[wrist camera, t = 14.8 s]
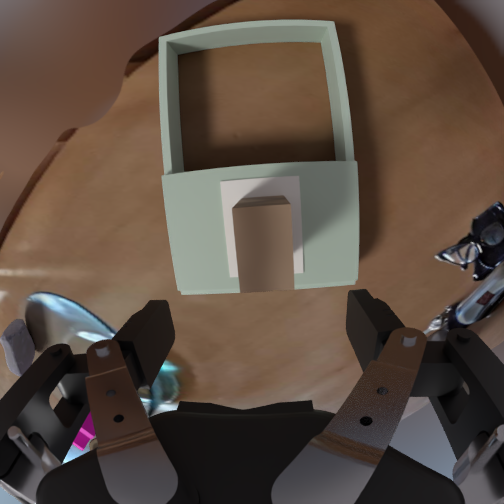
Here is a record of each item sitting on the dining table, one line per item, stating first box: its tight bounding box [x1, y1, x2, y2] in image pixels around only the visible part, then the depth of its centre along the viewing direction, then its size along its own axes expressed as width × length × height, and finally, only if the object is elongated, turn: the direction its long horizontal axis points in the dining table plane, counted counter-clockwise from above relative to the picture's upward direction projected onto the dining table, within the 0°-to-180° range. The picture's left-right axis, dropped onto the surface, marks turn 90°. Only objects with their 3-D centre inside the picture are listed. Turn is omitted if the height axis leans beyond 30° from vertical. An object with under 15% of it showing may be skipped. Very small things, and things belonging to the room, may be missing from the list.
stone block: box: [0, 319, 35, 376], centre depth 41 cm, size 12×5×10 cm, turn 163°
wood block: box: [232, 195, 294, 293], centre depth 26 cm, size 4×7×9 cm, turn 5°
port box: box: [159, 20, 359, 295], centre depth 31 cm, size 22×34×6 cm, turn 5°
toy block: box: [72, 411, 95, 451], centre depth 49 cm, size 15×6×8 cm, turn 141°
